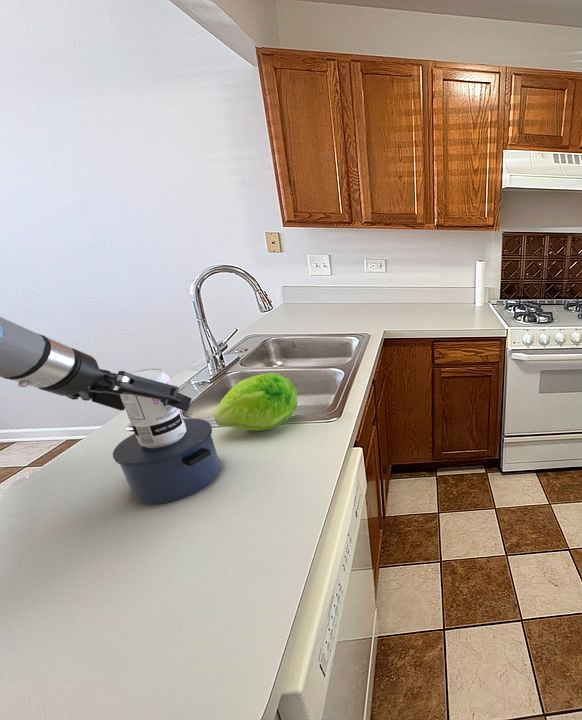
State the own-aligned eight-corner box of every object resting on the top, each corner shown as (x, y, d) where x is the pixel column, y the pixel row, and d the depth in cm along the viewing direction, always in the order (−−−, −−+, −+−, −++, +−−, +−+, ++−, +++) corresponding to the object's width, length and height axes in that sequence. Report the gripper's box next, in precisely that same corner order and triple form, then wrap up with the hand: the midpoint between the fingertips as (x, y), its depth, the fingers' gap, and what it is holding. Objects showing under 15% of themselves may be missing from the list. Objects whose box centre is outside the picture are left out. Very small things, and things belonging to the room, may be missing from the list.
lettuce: (226, 431, 111) (205, 382, 106) (300, 406, 121) (284, 360, 116) (226, 455, 98) (202, 401, 93) (310, 424, 107) (292, 373, 102)
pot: (107, 493, 85) (88, 451, 81) (185, 449, 100) (173, 412, 96) (171, 517, 78) (153, 473, 74) (245, 466, 93) (234, 427, 89)
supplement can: (147, 433, 87) (123, 371, 81) (191, 425, 90) (171, 364, 84) (134, 453, 80) (107, 387, 74) (182, 444, 83) (160, 379, 77)
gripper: (-34, 388, 62) (91, 421, 82) (121, 389, 62) (209, 422, 81) (-11, 345, 65) (104, 387, 85) (138, 346, 65) (219, 387, 84)
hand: (156, 404), depth 83 cm, fingers open, 13 cm apart
